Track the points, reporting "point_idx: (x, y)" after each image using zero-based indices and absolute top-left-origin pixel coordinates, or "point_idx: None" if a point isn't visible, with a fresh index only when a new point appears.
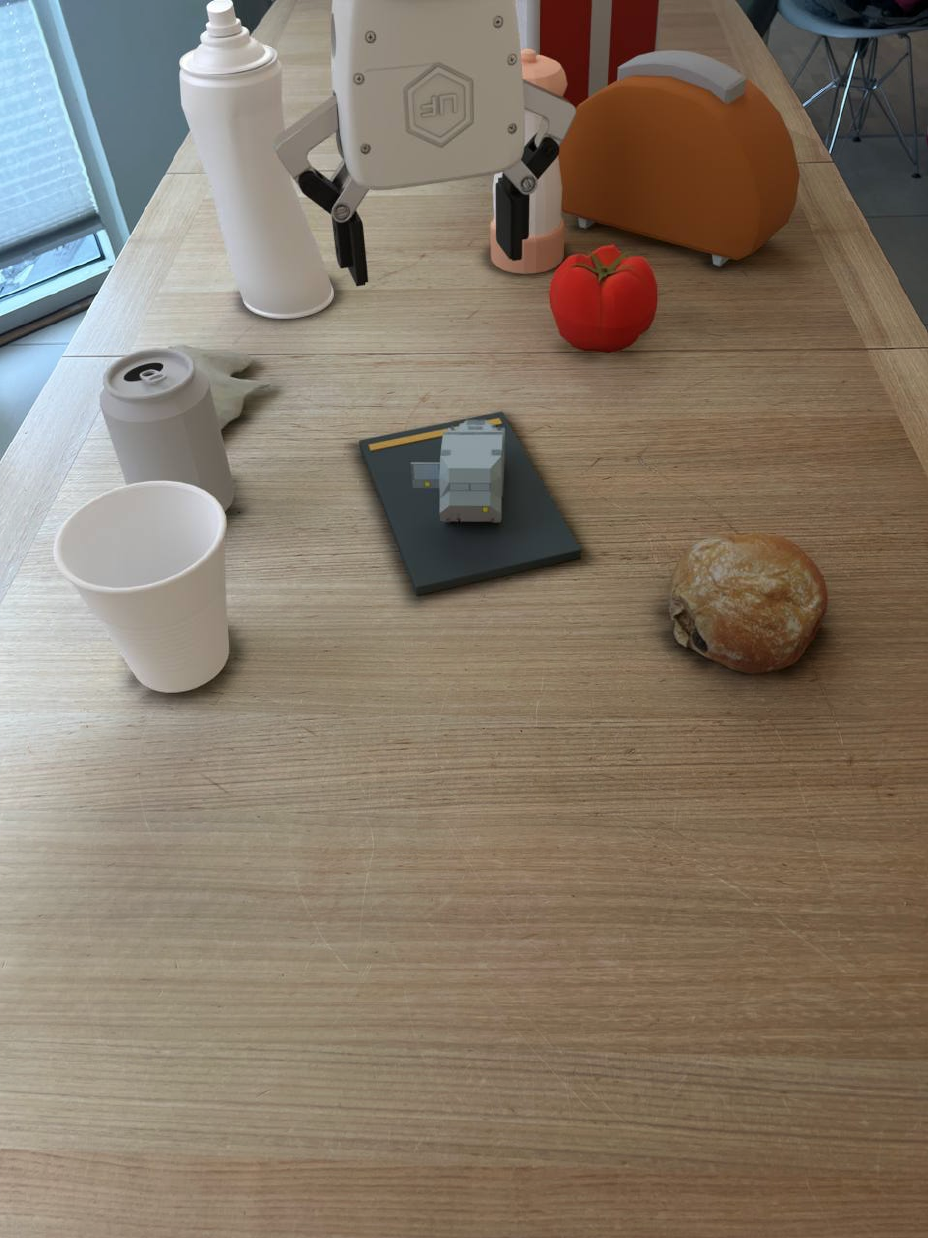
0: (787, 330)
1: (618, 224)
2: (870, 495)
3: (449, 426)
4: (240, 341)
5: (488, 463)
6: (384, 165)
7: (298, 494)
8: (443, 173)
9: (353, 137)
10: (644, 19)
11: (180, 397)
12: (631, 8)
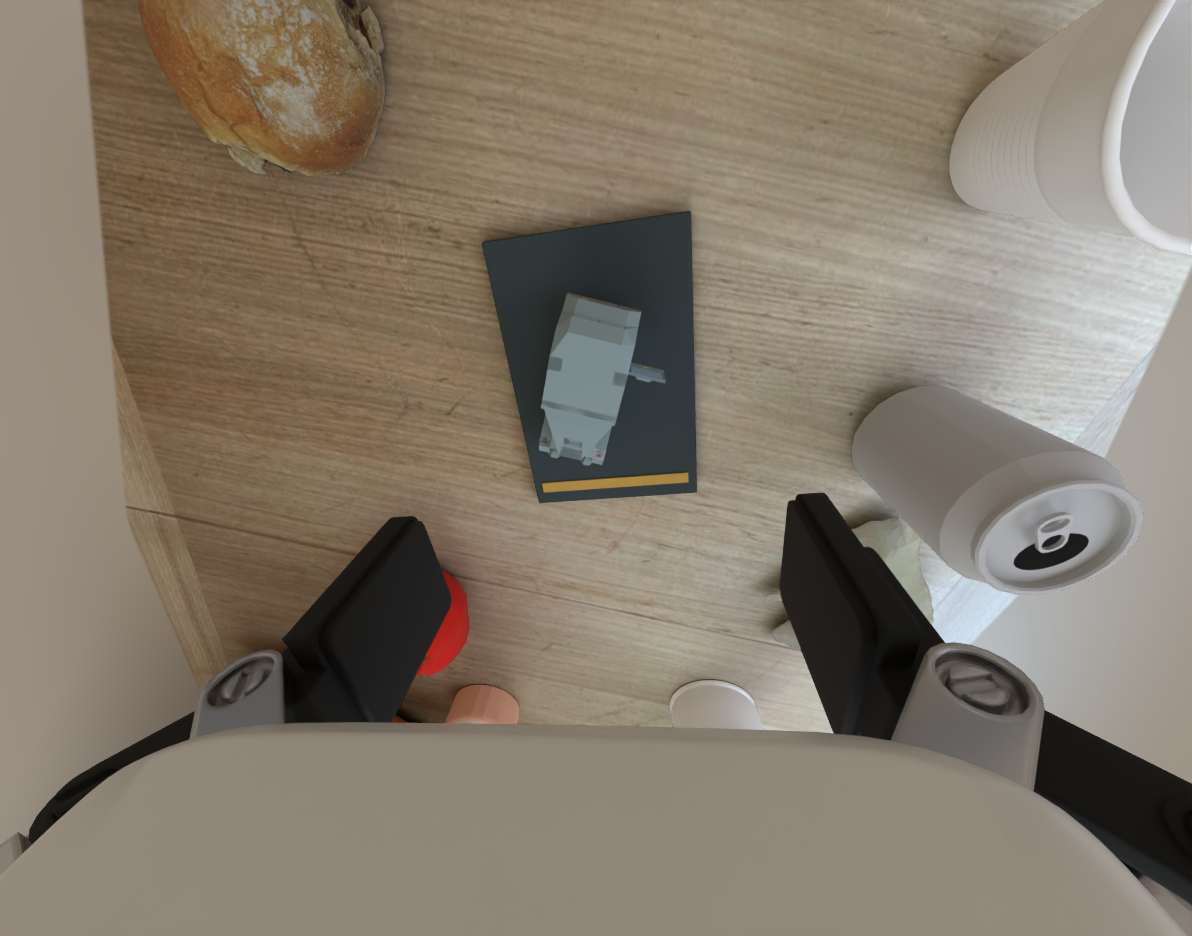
0: (252, 559)
1: (397, 720)
2: (157, 283)
3: (597, 491)
4: (772, 662)
5: (568, 343)
6: (940, 929)
7: (778, 429)
8: (499, 766)
9: None
10: None
11: (1018, 484)
12: None
